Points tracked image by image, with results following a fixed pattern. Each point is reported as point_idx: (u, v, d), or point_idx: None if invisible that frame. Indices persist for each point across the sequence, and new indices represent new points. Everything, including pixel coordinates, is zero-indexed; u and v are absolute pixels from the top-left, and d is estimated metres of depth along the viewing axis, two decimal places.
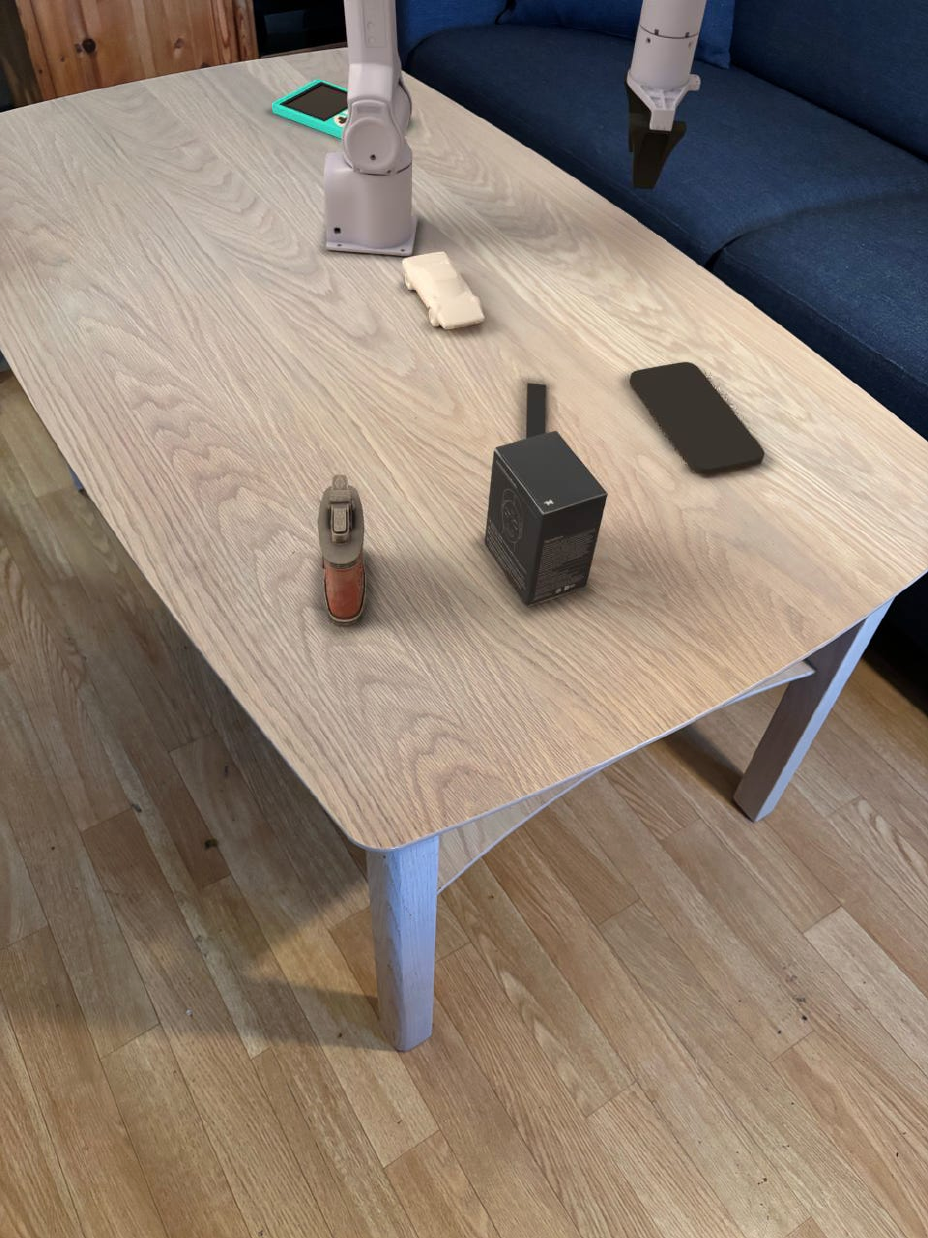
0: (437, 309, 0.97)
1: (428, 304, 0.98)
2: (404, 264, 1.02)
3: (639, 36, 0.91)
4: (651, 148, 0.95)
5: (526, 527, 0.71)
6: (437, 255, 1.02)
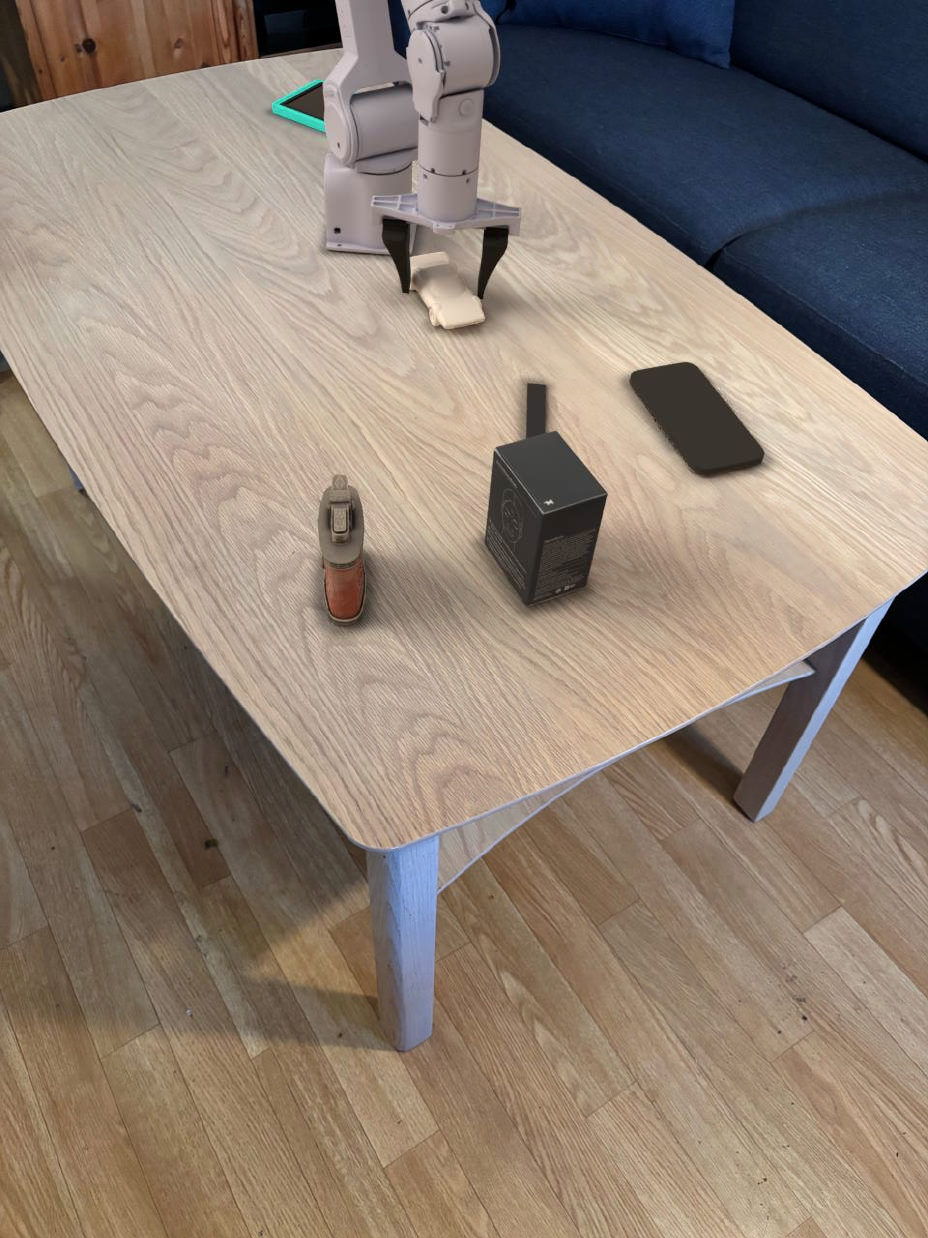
0: (437, 309, 0.97)
1: (428, 304, 0.98)
2: None
3: None
4: None
5: (526, 527, 0.71)
6: (438, 255, 1.02)
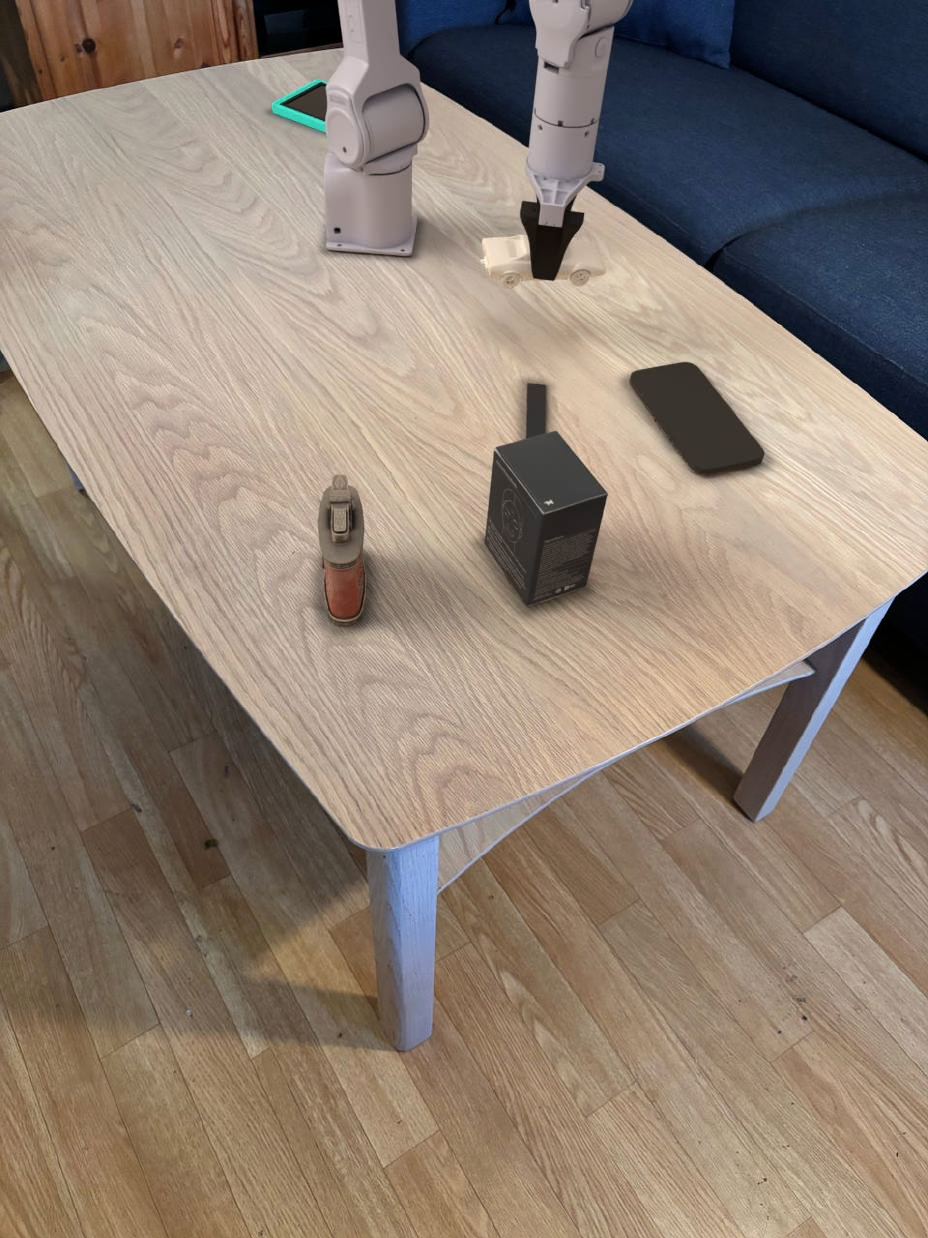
0: (587, 265, 0.91)
1: (570, 271, 0.91)
2: (497, 269, 0.90)
3: (532, 122, 0.82)
4: (548, 239, 0.87)
5: (526, 527, 0.71)
6: (494, 242, 0.92)
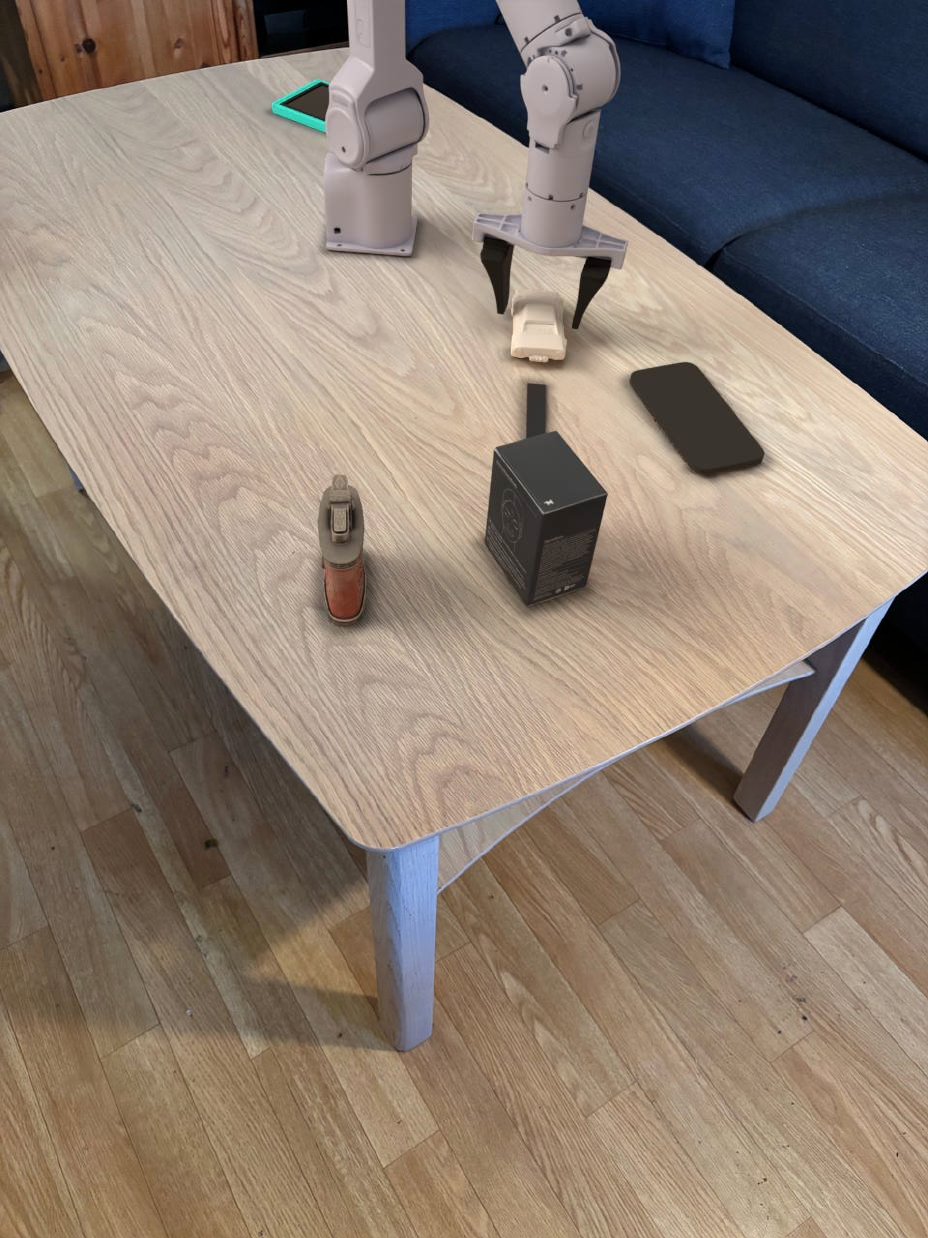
0: (559, 297, 1.00)
1: (562, 310, 0.99)
2: (564, 348, 0.94)
3: (559, 210, 0.86)
4: None
5: (526, 527, 0.71)
6: (528, 340, 0.94)
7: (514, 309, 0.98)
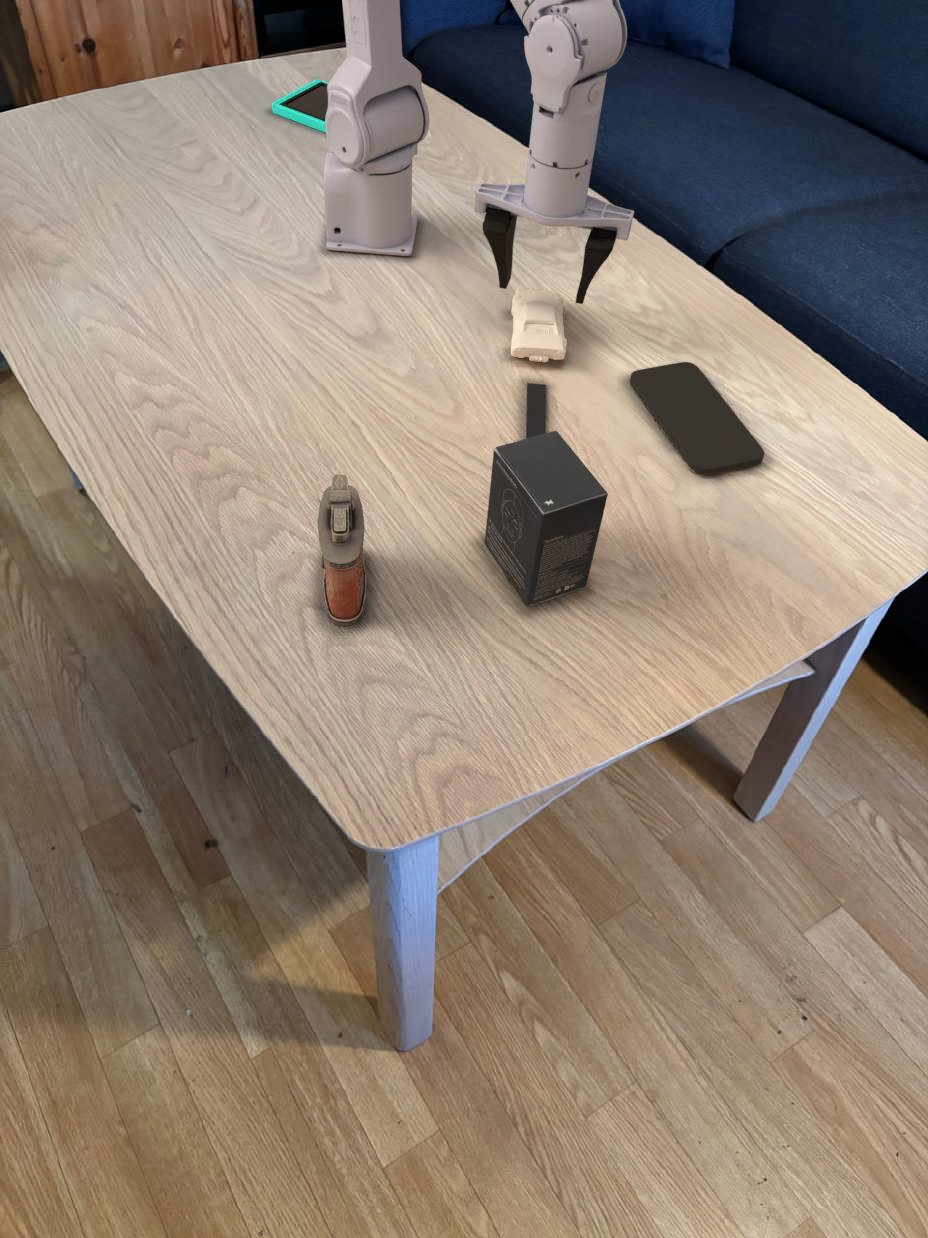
0: (559, 297, 1.00)
1: (562, 310, 0.99)
2: (564, 348, 0.94)
3: (563, 177, 0.84)
4: None
5: (526, 527, 0.71)
6: (528, 340, 0.94)
7: (514, 309, 0.98)
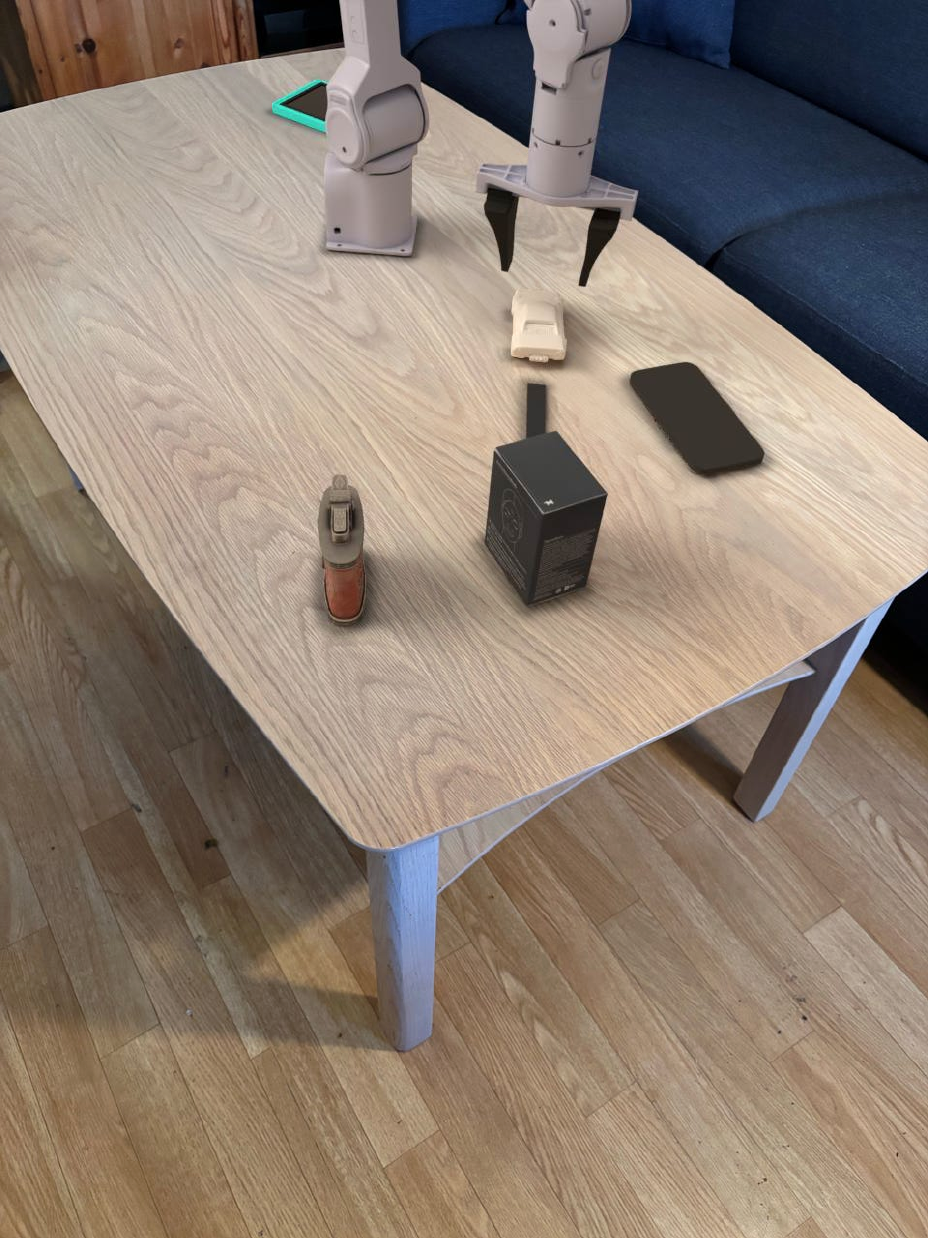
0: (559, 297, 1.00)
1: (562, 310, 0.99)
2: (565, 348, 0.94)
3: (566, 156, 0.82)
4: None
5: (526, 527, 0.71)
6: (528, 340, 0.94)
7: (514, 309, 0.98)
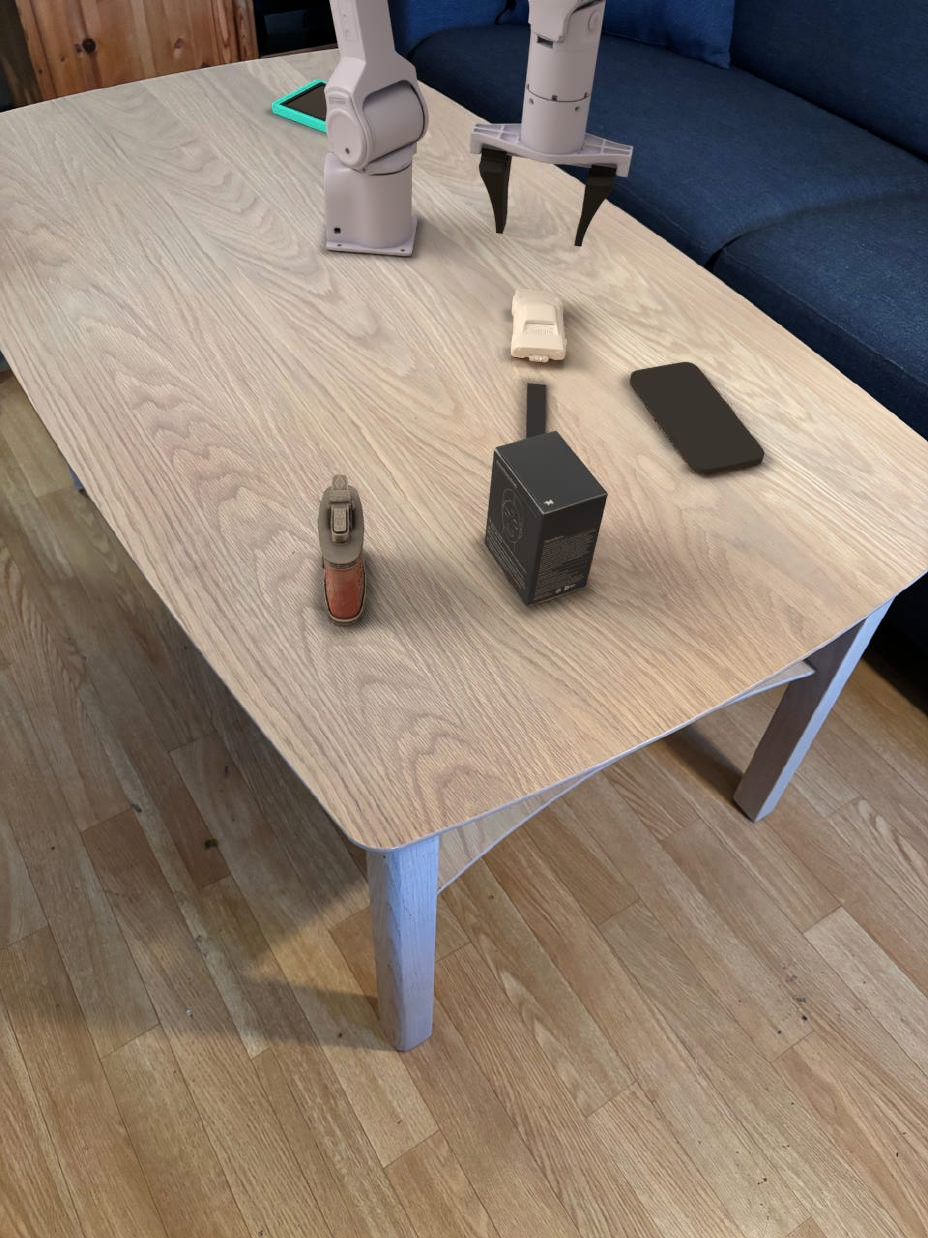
0: (559, 297, 1.00)
1: (562, 310, 0.99)
2: (565, 348, 0.94)
3: (563, 111, 0.82)
4: None
5: (526, 527, 0.71)
6: (528, 340, 0.94)
7: (514, 309, 0.98)
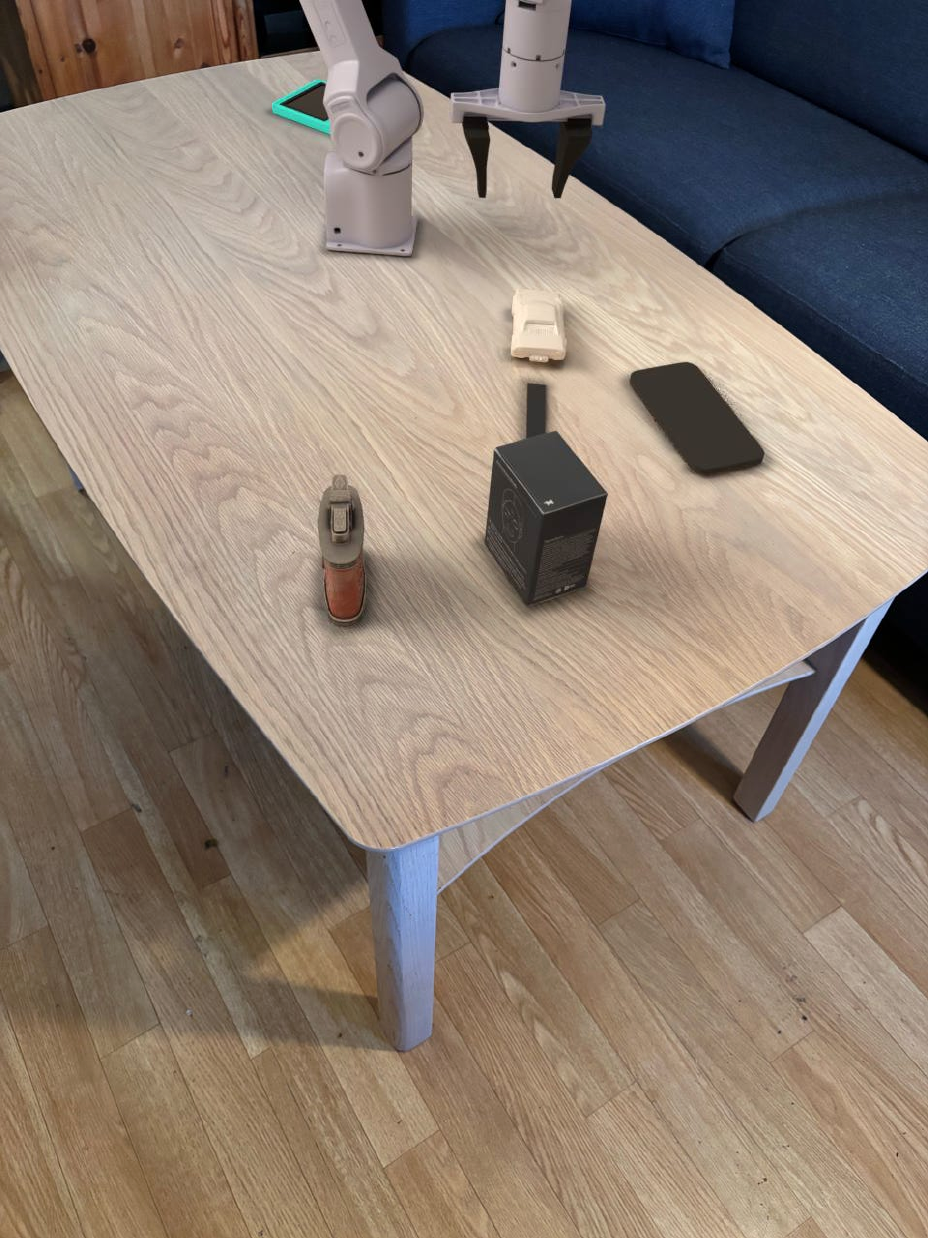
0: (559, 297, 1.00)
1: (562, 310, 0.99)
2: (565, 348, 0.94)
3: (546, 70, 0.86)
4: None
5: (526, 527, 0.71)
6: (528, 340, 0.94)
7: (514, 309, 0.98)
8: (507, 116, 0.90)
